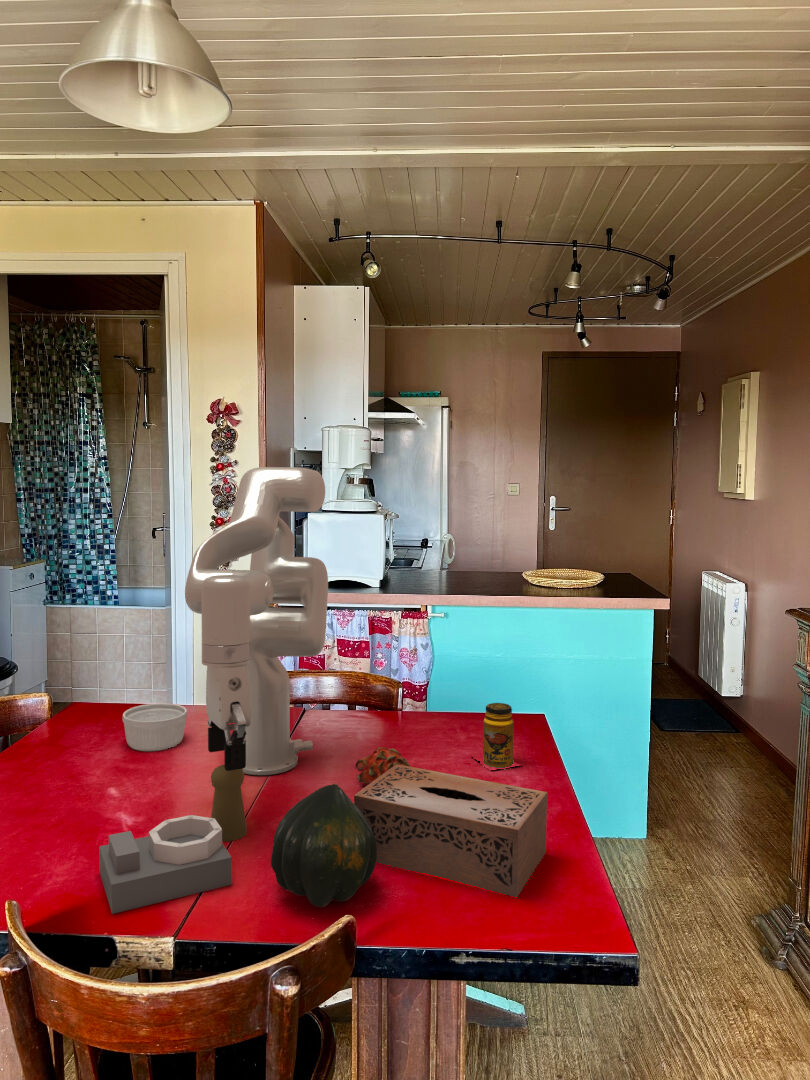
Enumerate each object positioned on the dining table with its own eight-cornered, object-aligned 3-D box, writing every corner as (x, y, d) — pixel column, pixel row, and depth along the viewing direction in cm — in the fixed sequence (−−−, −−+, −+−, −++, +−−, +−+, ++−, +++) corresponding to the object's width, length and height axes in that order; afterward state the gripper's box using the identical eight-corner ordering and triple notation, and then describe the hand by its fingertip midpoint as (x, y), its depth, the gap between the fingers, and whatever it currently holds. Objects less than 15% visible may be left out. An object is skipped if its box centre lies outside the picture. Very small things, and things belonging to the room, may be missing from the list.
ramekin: (200, 740, 170) (200, 709, 169) (151, 758, 159) (150, 725, 158) (159, 729, 177) (158, 699, 176) (109, 746, 166) (109, 714, 165)
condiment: (490, 772, 153) (492, 712, 152) (470, 757, 161) (471, 700, 160) (522, 767, 156) (524, 708, 155) (501, 753, 164) (502, 697, 163)
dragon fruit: (411, 808, 139) (358, 802, 146) (428, 769, 145) (377, 764, 152) (390, 779, 135) (337, 774, 142) (409, 739, 141) (357, 736, 148)
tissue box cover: (353, 859, 118) (354, 795, 117) (396, 821, 131) (396, 763, 130) (517, 900, 107) (518, 830, 106) (545, 855, 120) (547, 792, 119)
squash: (265, 892, 98) (340, 792, 101) (241, 844, 112) (307, 758, 115) (346, 945, 103) (415, 848, 106) (313, 894, 116) (375, 809, 120)
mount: (209, 848, 120) (209, 808, 120) (231, 884, 110) (231, 840, 109) (99, 872, 113) (98, 829, 112) (112, 913, 102) (111, 866, 102)
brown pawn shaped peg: (238, 843, 122) (237, 775, 121) (202, 839, 124) (201, 772, 123) (253, 826, 128) (252, 761, 127) (218, 823, 129) (218, 758, 129)
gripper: (266, 661, 117) (266, 772, 118) (233, 642, 133) (234, 741, 134) (217, 666, 114) (217, 780, 115) (189, 646, 129) (189, 747, 130)
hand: (226, 759), depth 124 cm, fingers open, 9 cm apart
